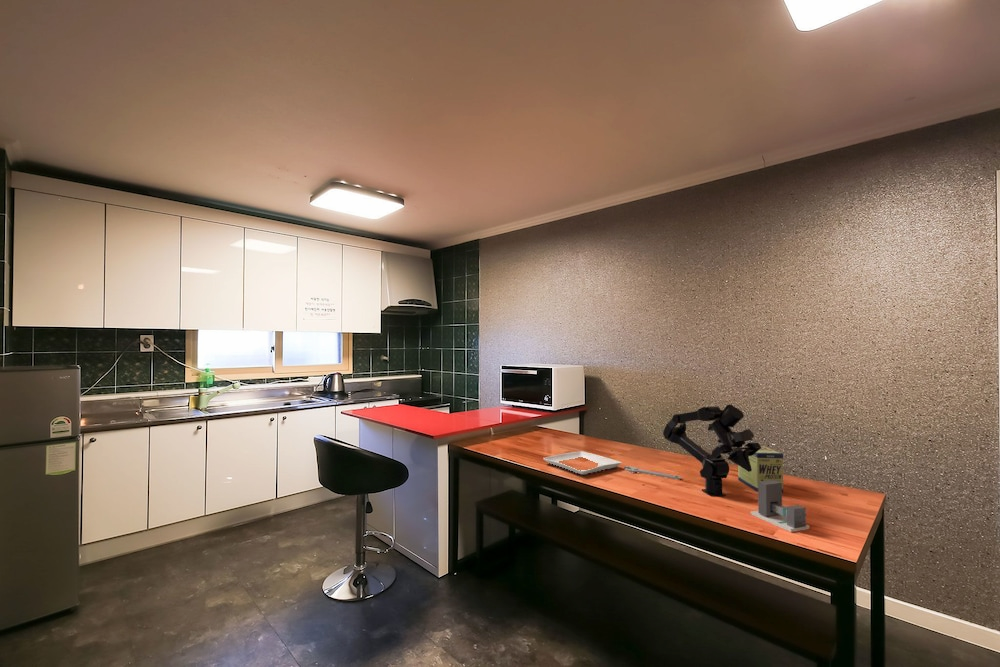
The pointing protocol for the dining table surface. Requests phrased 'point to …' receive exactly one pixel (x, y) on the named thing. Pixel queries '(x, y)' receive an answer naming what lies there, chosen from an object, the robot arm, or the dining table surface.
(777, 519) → the white board
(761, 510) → the tall gray block
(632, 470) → the adjustable wrench
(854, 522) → the dining table surface
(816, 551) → the dining table surface
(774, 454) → the protein box
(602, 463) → the square plate
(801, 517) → the grey block cluster
